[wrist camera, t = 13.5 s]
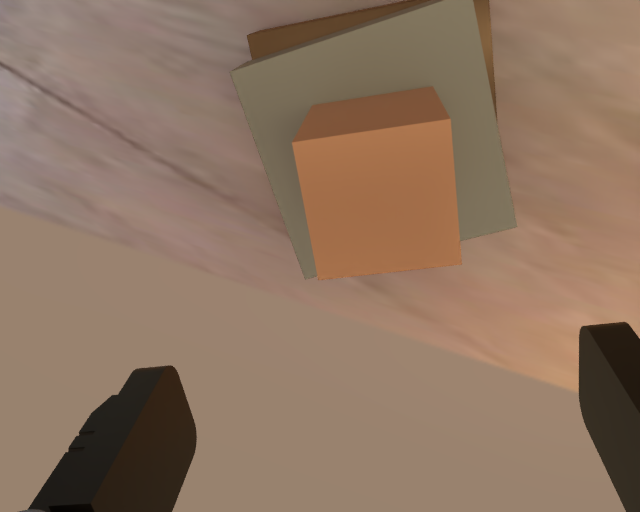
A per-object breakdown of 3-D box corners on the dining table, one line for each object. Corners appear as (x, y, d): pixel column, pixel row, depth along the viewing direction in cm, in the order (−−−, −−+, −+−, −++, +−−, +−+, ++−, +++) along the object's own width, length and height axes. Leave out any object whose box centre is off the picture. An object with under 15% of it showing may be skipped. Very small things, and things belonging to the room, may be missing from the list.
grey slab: (247, 61, 30) (229, 71, 26) (458, -10, 28) (471, -9, 24) (312, 248, 34) (305, 279, 31) (501, 199, 32) (517, 226, 28)
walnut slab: (261, 30, 33) (246, 35, 29) (475, -14, 31) (488, -14, 28) (303, 223, 38) (295, 248, 34) (491, 195, 36) (503, 218, 32)
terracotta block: (312, 105, 27) (291, 142, 20) (433, 86, 26) (450, 118, 20) (331, 215, 29) (318, 280, 23) (442, 201, 28) (461, 264, 22)
